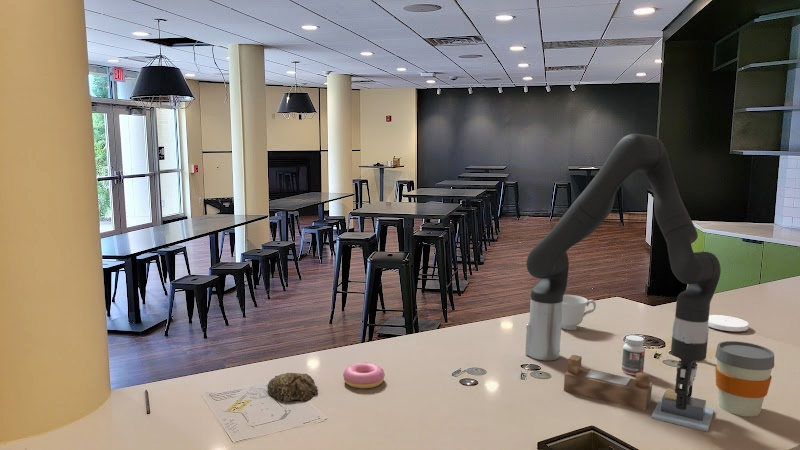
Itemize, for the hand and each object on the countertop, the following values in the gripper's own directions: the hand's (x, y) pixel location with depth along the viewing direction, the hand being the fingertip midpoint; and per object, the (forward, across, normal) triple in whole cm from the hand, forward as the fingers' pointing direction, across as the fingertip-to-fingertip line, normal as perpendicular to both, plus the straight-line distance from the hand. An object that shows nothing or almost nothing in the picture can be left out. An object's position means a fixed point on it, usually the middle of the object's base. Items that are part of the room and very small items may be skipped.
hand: (683, 402), depth 147 cm
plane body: (+3, -1, -18) cm, 18 cm away
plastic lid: (+4, -83, +2) cm, 83 cm away
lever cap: (+3, 0, 0) cm, 3 cm away
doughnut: (+4, +27, -74) cm, 79 cm away
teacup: (+4, -51, -42) cm, 66 cm away
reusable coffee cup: (+3, -12, +11) cm, 17 cm away
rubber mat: (+3, 0, 0) cm, 3 cm away
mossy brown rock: (+4, +42, -84) cm, 95 cm away
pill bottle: (+3, -21, -16) cm, 27 cm away
